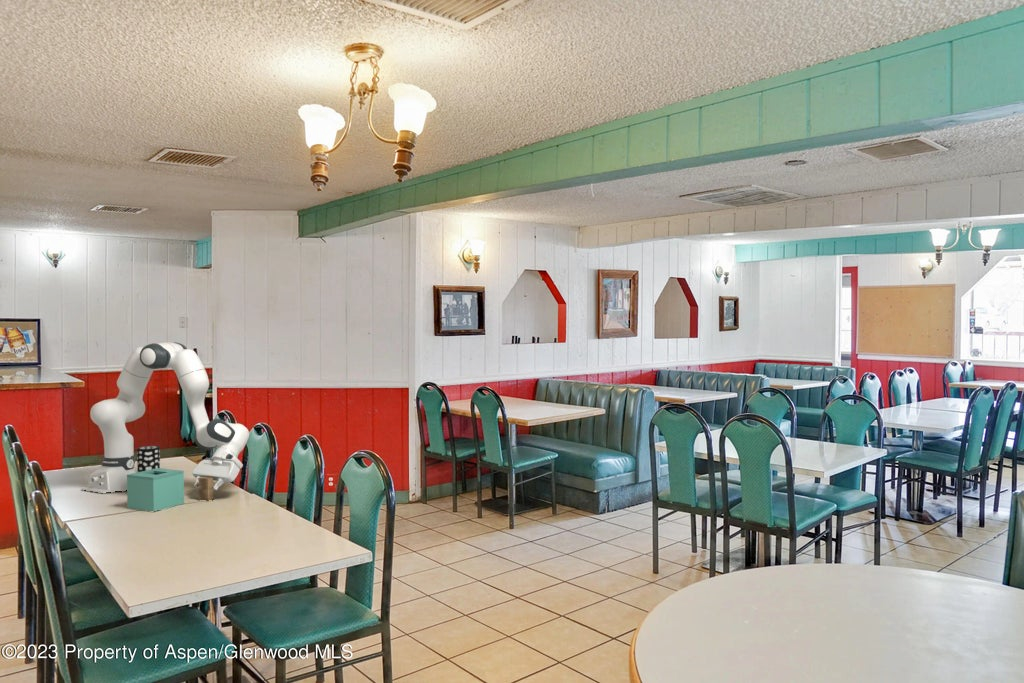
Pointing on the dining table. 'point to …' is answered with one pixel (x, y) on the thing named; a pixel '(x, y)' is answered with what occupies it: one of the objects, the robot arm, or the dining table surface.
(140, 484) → the box
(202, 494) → the brown rectangular block
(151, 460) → the white-spotted black cylinder
